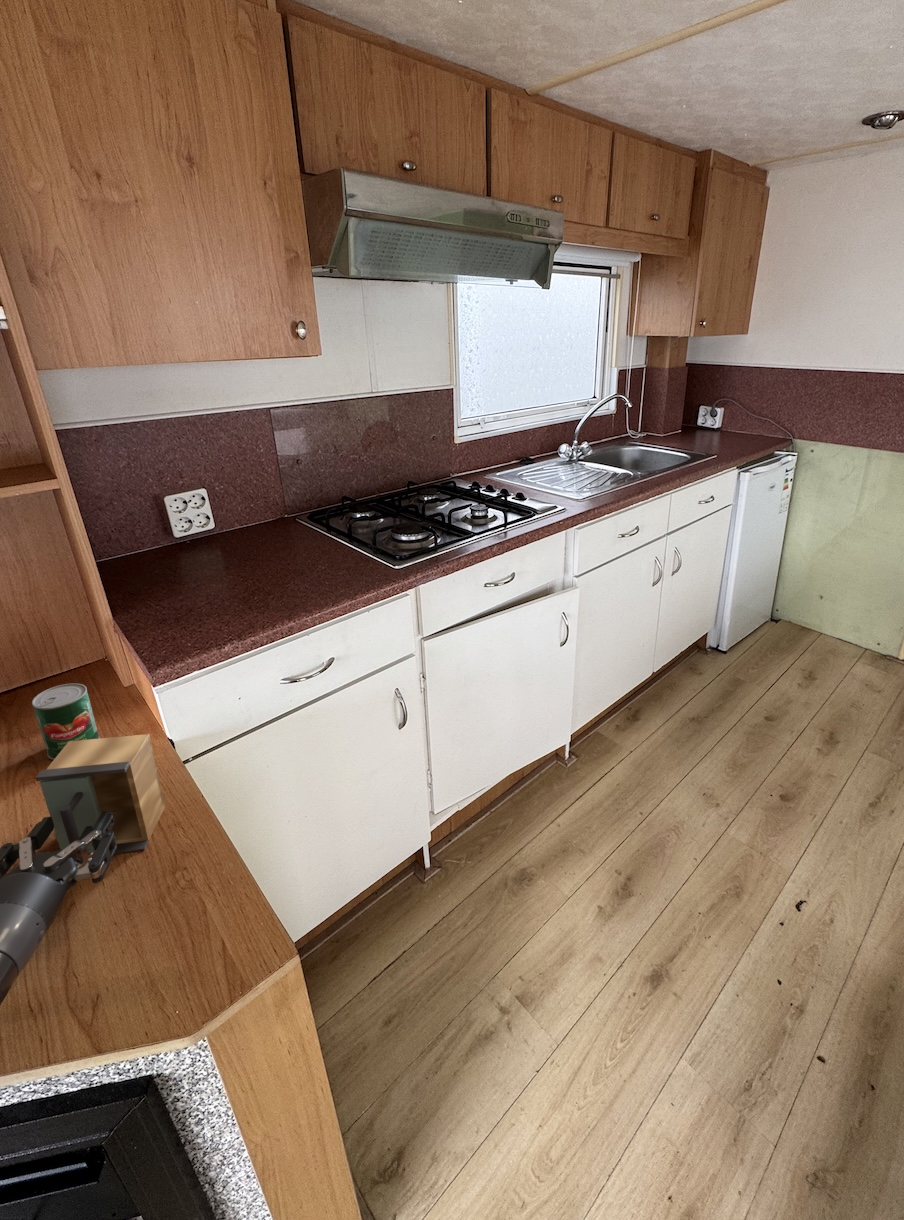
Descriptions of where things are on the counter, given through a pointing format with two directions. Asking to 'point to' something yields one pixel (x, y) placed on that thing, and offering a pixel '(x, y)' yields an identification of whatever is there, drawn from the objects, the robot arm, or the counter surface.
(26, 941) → the robot arm
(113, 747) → the cabinet
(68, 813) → the slide door
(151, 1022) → the counter surface
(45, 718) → the canned tomato
